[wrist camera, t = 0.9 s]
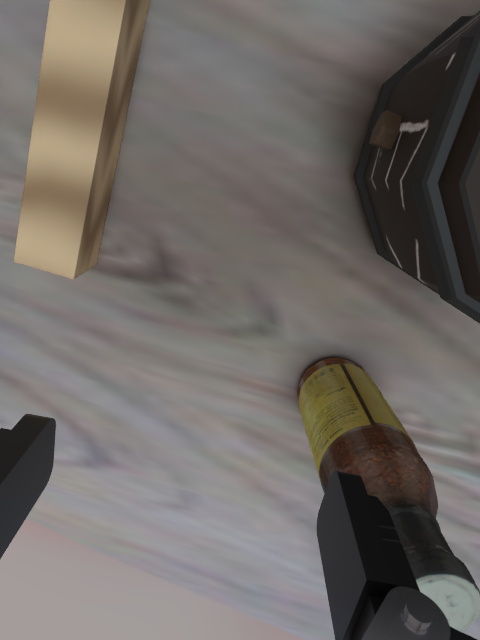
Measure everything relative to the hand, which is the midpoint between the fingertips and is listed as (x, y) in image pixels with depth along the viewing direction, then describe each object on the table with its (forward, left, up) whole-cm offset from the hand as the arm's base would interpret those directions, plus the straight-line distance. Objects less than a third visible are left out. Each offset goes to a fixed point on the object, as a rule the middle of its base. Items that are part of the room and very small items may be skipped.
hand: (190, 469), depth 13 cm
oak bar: (-10, -11, -23) cm, 28 cm away
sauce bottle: (+7, +11, -23) cm, 26 cm away
